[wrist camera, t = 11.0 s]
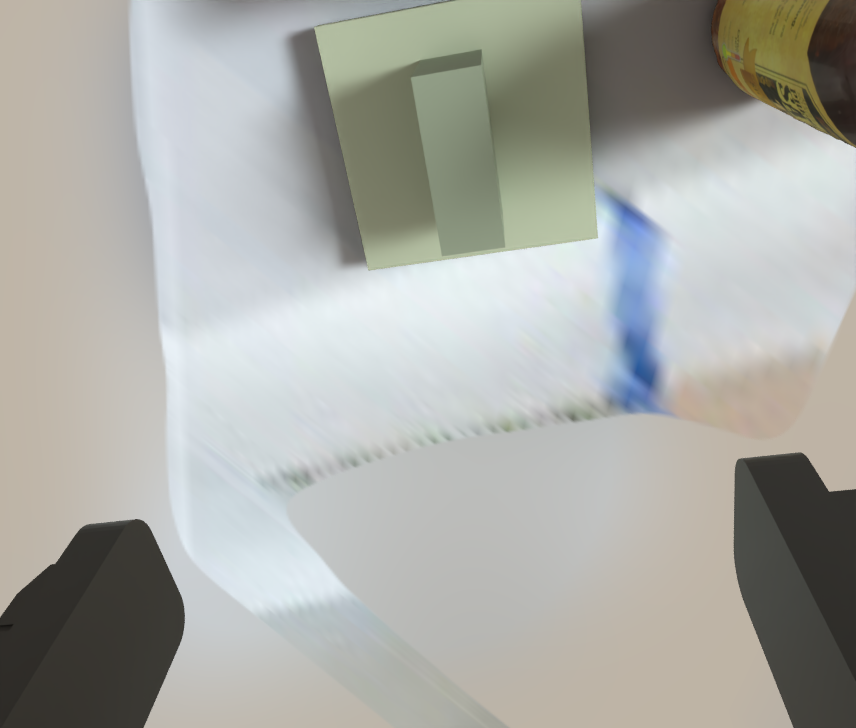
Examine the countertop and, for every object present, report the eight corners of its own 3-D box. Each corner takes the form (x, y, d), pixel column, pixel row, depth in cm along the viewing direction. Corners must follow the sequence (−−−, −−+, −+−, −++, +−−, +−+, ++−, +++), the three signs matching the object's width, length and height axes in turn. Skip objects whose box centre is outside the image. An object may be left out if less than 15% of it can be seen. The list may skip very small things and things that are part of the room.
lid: (322, 23, 33) (286, 39, 27) (574, -25, 32) (595, -19, 26) (373, 256, 39) (352, 313, 32) (592, 224, 37) (614, 279, 31)
